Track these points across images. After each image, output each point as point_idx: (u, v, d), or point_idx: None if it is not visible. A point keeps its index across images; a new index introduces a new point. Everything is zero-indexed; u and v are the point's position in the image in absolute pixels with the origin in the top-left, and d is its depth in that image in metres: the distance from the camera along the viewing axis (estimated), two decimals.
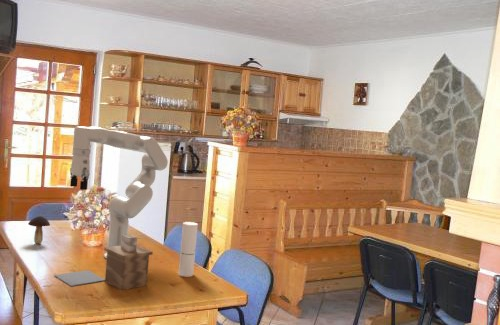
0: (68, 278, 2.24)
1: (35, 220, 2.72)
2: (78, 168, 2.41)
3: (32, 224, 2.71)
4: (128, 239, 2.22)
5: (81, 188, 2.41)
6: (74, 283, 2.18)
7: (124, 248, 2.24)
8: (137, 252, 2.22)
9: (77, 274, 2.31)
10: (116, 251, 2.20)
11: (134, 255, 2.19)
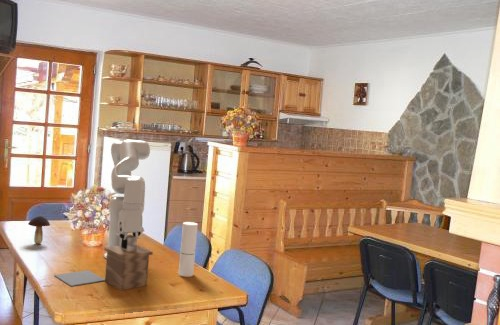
0: (68, 278, 2.24)
1: (35, 220, 2.72)
2: (139, 223, 2.25)
3: (32, 224, 2.71)
4: (128, 239, 2.22)
5: None
6: (74, 283, 2.18)
7: None
8: (137, 252, 2.22)
9: (77, 274, 2.31)
10: (116, 251, 2.20)
11: (134, 255, 2.19)
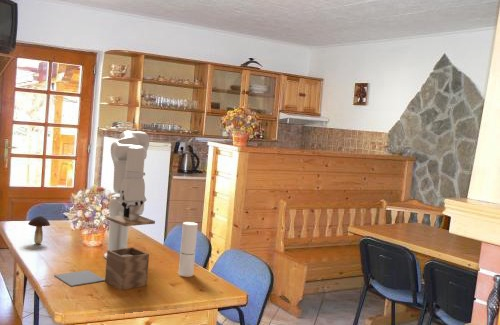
0: (68, 278, 2.24)
1: (35, 220, 2.72)
2: (141, 192, 2.24)
3: (32, 224, 2.71)
4: (130, 208, 2.21)
5: None
6: (74, 283, 2.18)
7: (126, 217, 2.23)
8: (139, 221, 2.21)
9: (77, 274, 2.31)
10: (118, 219, 2.19)
11: (136, 223, 2.18)
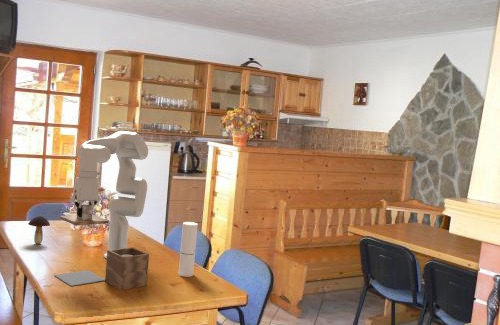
0: (68, 278, 2.24)
1: (35, 220, 2.72)
2: (95, 192, 2.24)
3: (32, 224, 2.71)
4: (83, 207, 2.21)
5: None
6: (74, 283, 2.18)
7: (79, 217, 2.24)
8: (92, 220, 2.21)
9: (77, 274, 2.31)
10: (71, 219, 2.20)
11: (89, 223, 2.18)
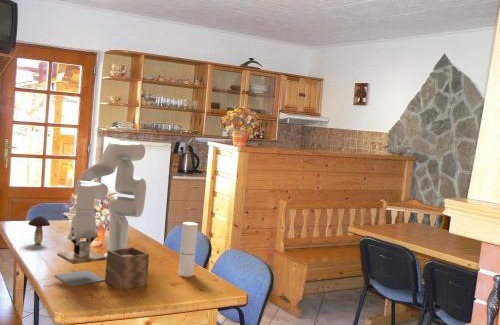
0: (68, 278, 2.24)
1: (35, 220, 2.72)
2: (92, 229, 2.26)
3: (32, 224, 2.71)
4: (80, 245, 2.22)
5: None
6: (74, 283, 2.18)
7: (76, 254, 2.25)
8: (89, 257, 2.23)
9: (77, 274, 2.31)
10: (68, 257, 2.21)
11: (86, 261, 2.19)
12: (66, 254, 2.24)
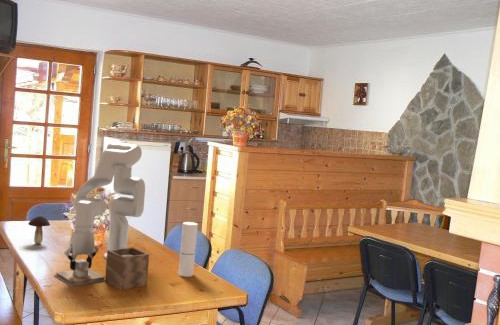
0: None
1: (35, 220, 2.72)
2: (91, 245, 2.26)
3: (32, 224, 2.71)
4: (79, 265, 2.23)
5: None
6: None
7: (75, 273, 2.26)
8: (88, 277, 2.24)
9: None
10: (67, 277, 2.22)
11: (84, 281, 2.20)
12: (65, 274, 2.25)
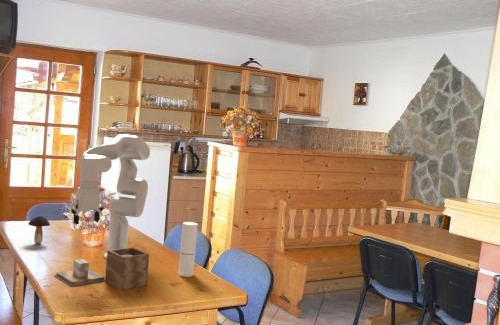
0: None
1: (35, 220, 2.72)
2: (96, 201, 2.28)
3: (32, 224, 2.71)
4: (79, 265, 2.23)
5: None
6: None
7: (75, 273, 2.26)
8: (88, 277, 2.24)
9: None
10: (67, 277, 2.22)
11: (84, 281, 2.20)
12: (65, 274, 2.25)
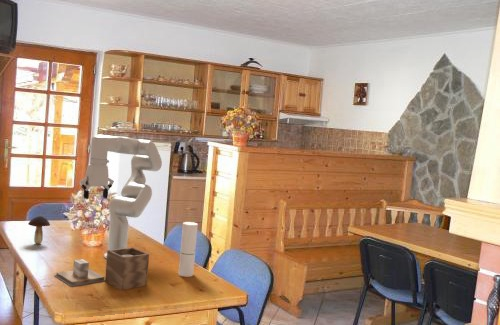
0: None
1: (35, 220, 2.72)
2: (105, 178, 2.42)
3: (32, 224, 2.71)
4: (79, 265, 2.23)
5: None
6: None
7: (75, 273, 2.26)
8: (88, 277, 2.24)
9: None
10: (67, 277, 2.22)
11: (84, 281, 2.20)
12: (65, 274, 2.25)
